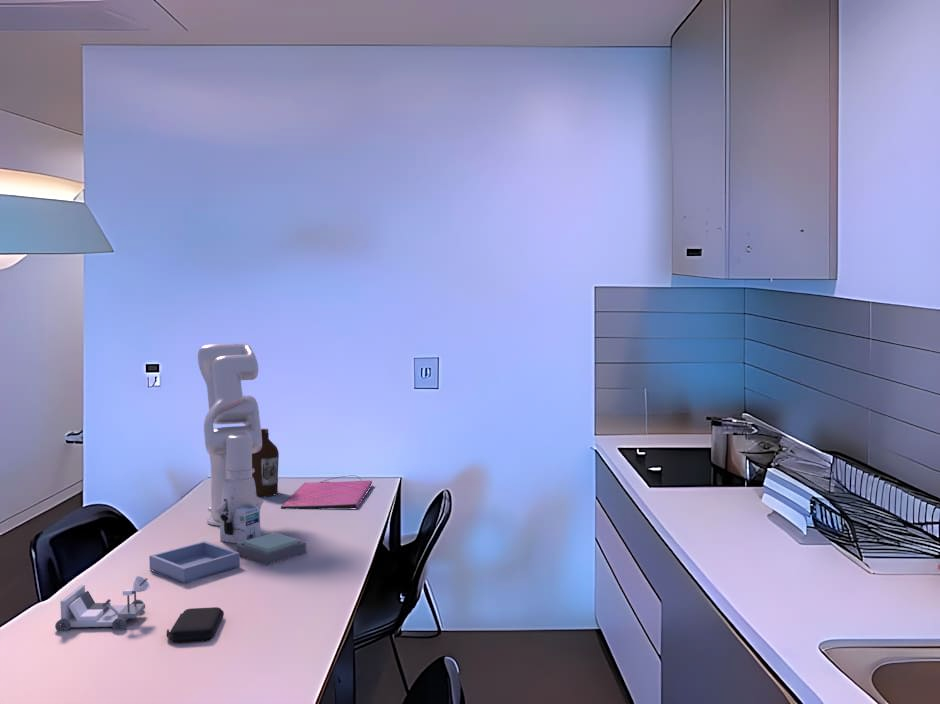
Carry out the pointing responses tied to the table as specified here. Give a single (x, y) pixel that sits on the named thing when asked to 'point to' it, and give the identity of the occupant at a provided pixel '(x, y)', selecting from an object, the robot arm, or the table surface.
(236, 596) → the table surface
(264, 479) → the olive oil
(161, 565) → the tray
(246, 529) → the light bulb box
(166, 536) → the table surface
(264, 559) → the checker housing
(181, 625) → the carrying case or bag
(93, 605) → the toy car
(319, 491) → the laptop bag
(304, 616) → the table surface
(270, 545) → the pad
